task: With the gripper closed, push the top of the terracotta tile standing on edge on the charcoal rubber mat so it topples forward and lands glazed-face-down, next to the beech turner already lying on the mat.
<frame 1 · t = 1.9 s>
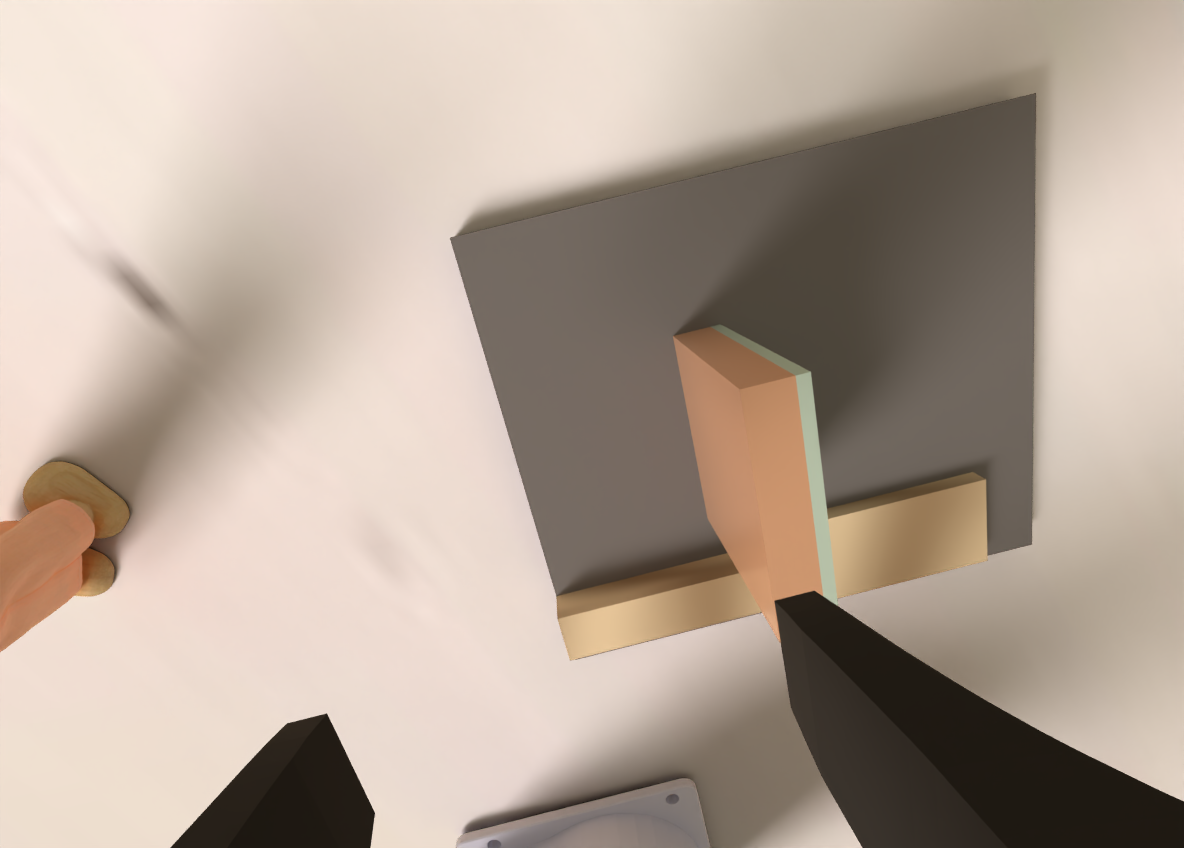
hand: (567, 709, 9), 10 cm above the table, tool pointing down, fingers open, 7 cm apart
turner: (798, 556, 20), point 1 cm above the table, touching mat
grandmother figurine: (73, 543, 19), on the table
tile: (713, 426, 18), point 1 cm above the table, touching mat
mat: (768, 403, 19), on the table
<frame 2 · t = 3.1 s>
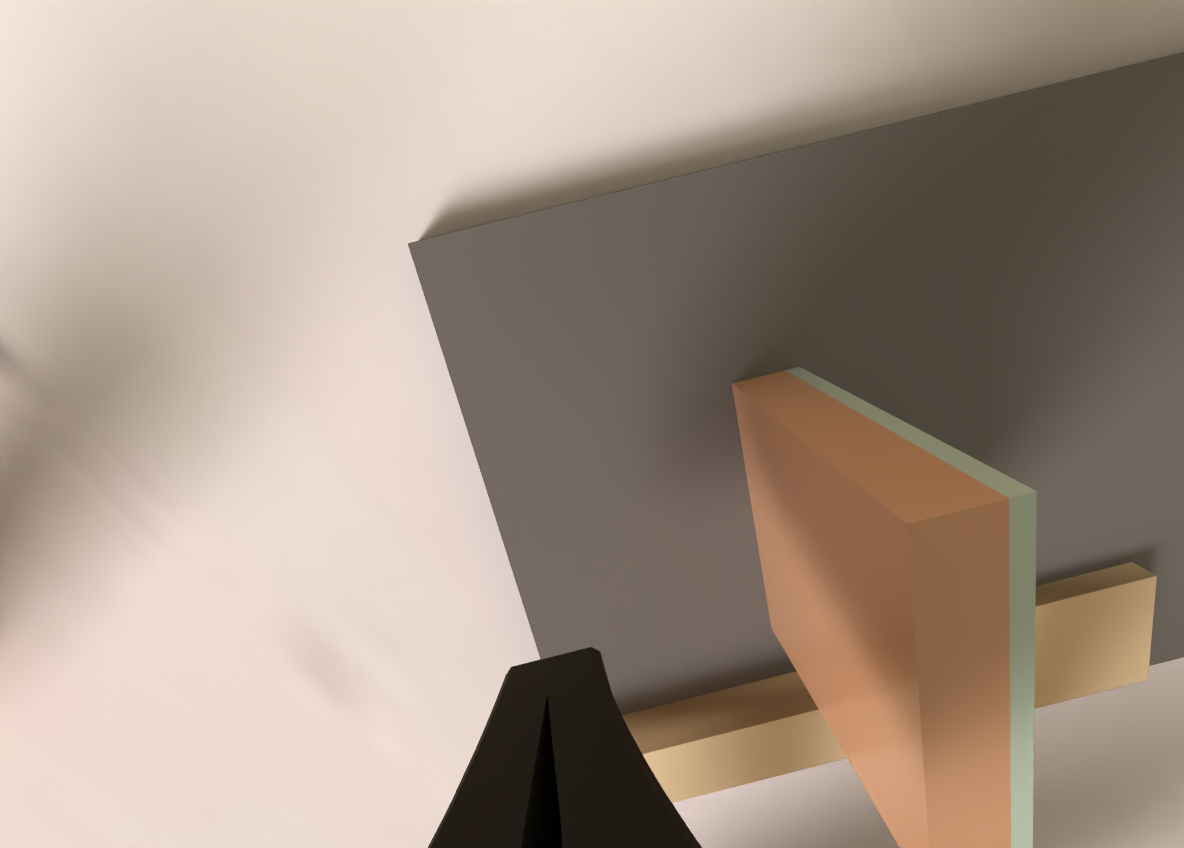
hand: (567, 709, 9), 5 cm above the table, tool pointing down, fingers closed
turner: (890, 674, 15), point 1 cm above the table, touching mat
tile: (784, 507, 13), point 1 cm above the table, touching mat
mat: (855, 470, 14), on the table
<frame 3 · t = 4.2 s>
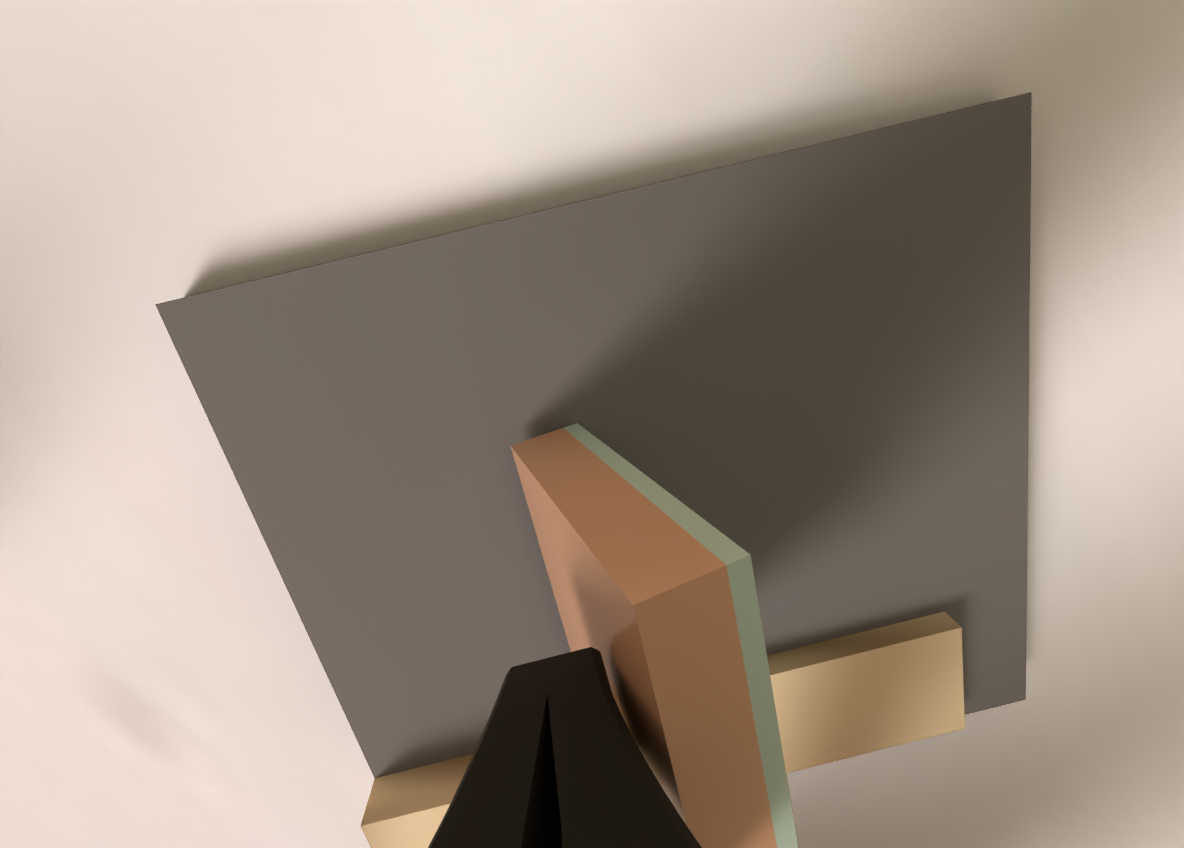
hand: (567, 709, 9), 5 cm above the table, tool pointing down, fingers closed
turner: (707, 722, 15), point 1 cm above the table, touching mat
tile: (579, 563, 13), point 1 cm above the table, tilted 15°, touching mat
mat: (661, 520, 14), on the table
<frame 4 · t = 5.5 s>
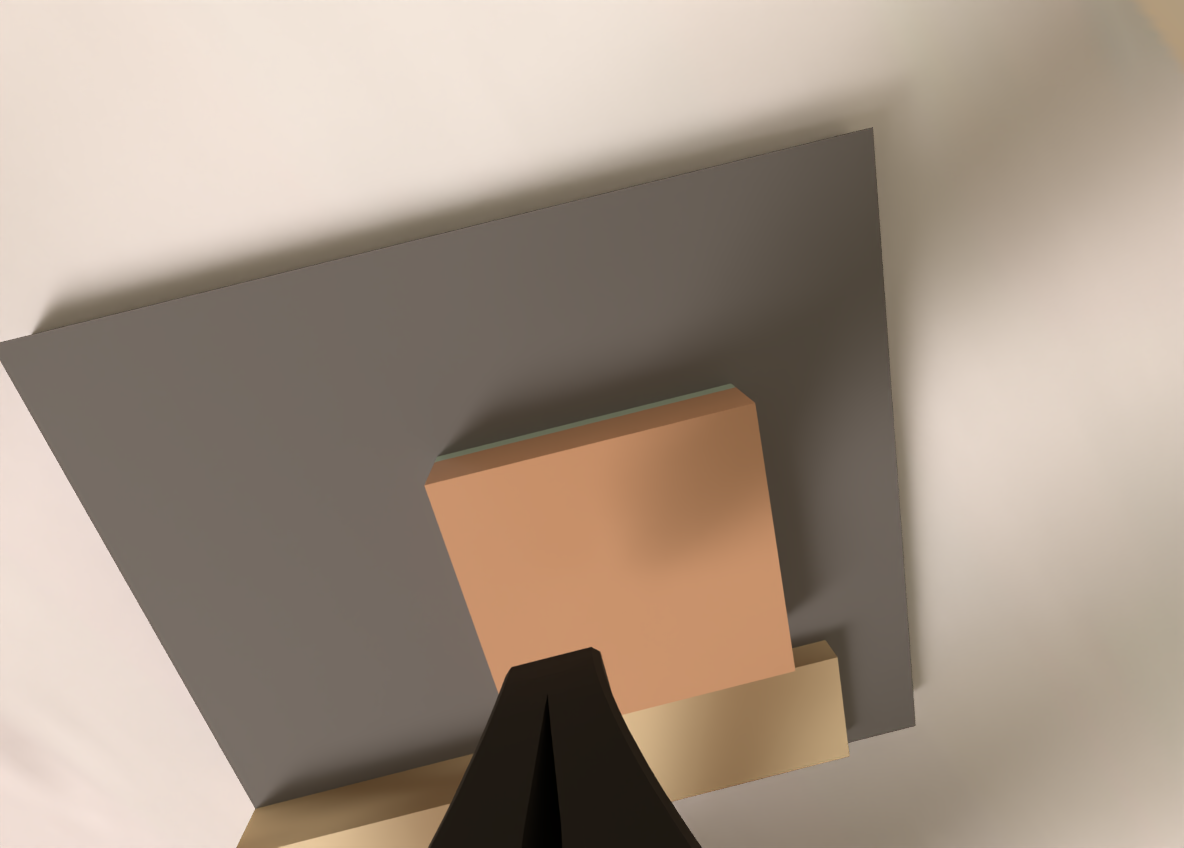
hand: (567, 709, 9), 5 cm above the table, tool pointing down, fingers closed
turner: (591, 750, 14), point 1 cm above the table, touching mat
tile: (477, 602, 12), point 1 cm above the table, tilted 90°, touching mat
mat: (536, 550, 14), on the table
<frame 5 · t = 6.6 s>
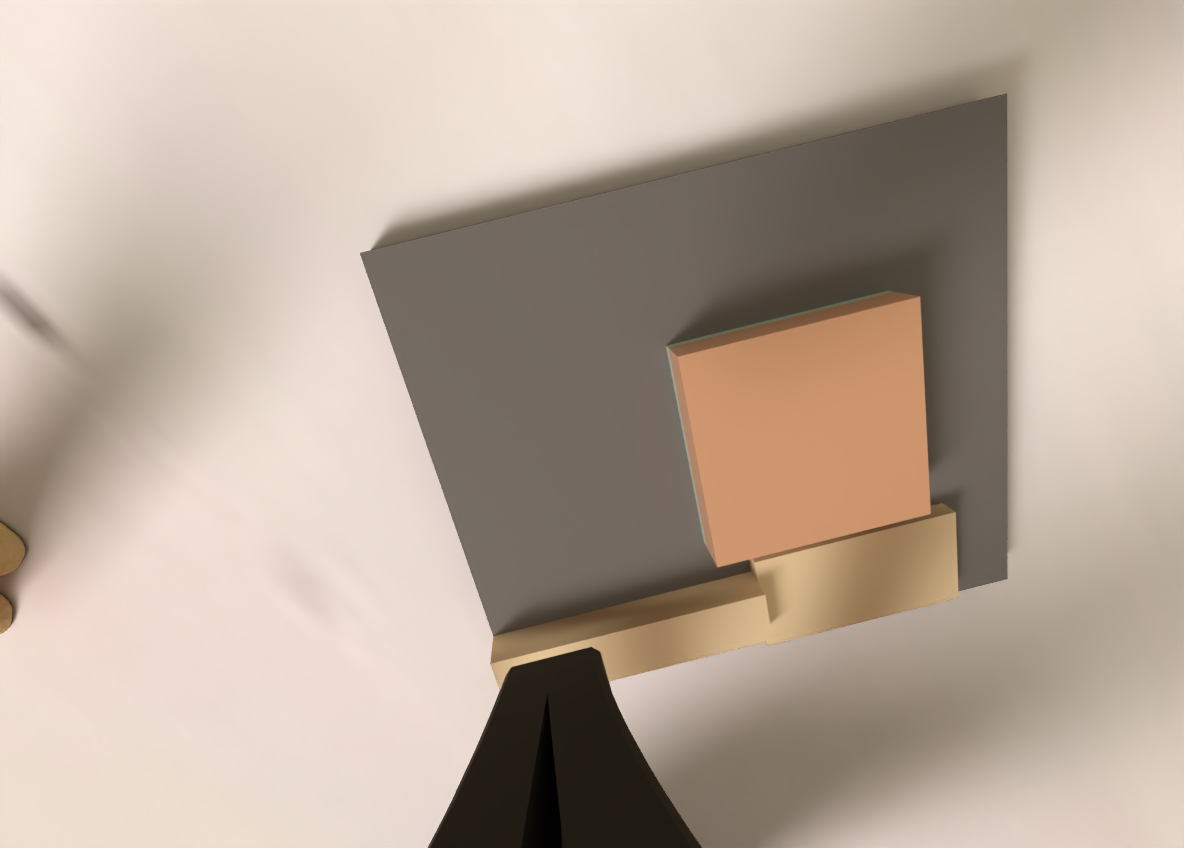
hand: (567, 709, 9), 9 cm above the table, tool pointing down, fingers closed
turner: (754, 593, 18), point 1 cm above the table, touching mat
tile: (692, 458, 16), point 1 cm above the table, tilted 90°, touching mat
mat: (720, 429, 17), on the table
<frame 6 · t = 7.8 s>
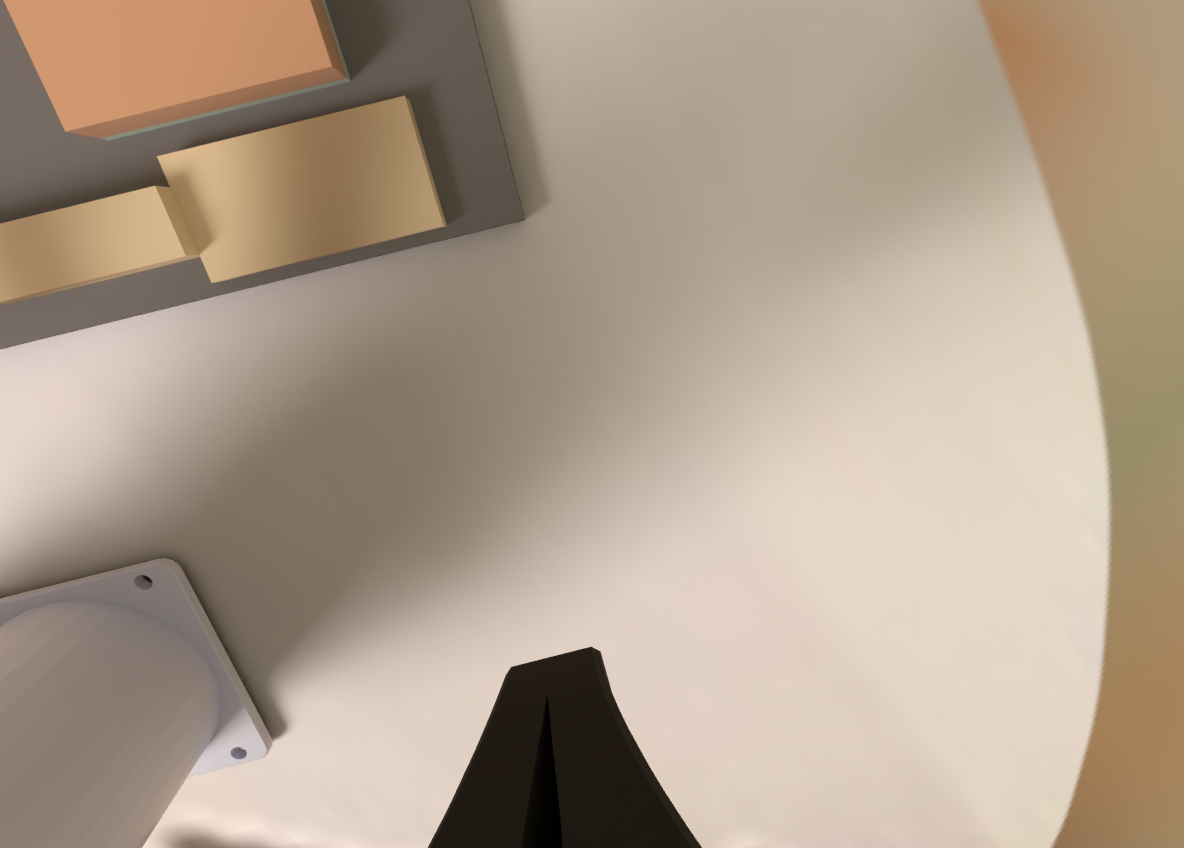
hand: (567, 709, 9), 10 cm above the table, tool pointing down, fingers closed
turner: (198, 222, 15), point 1 cm above the table, touching mat
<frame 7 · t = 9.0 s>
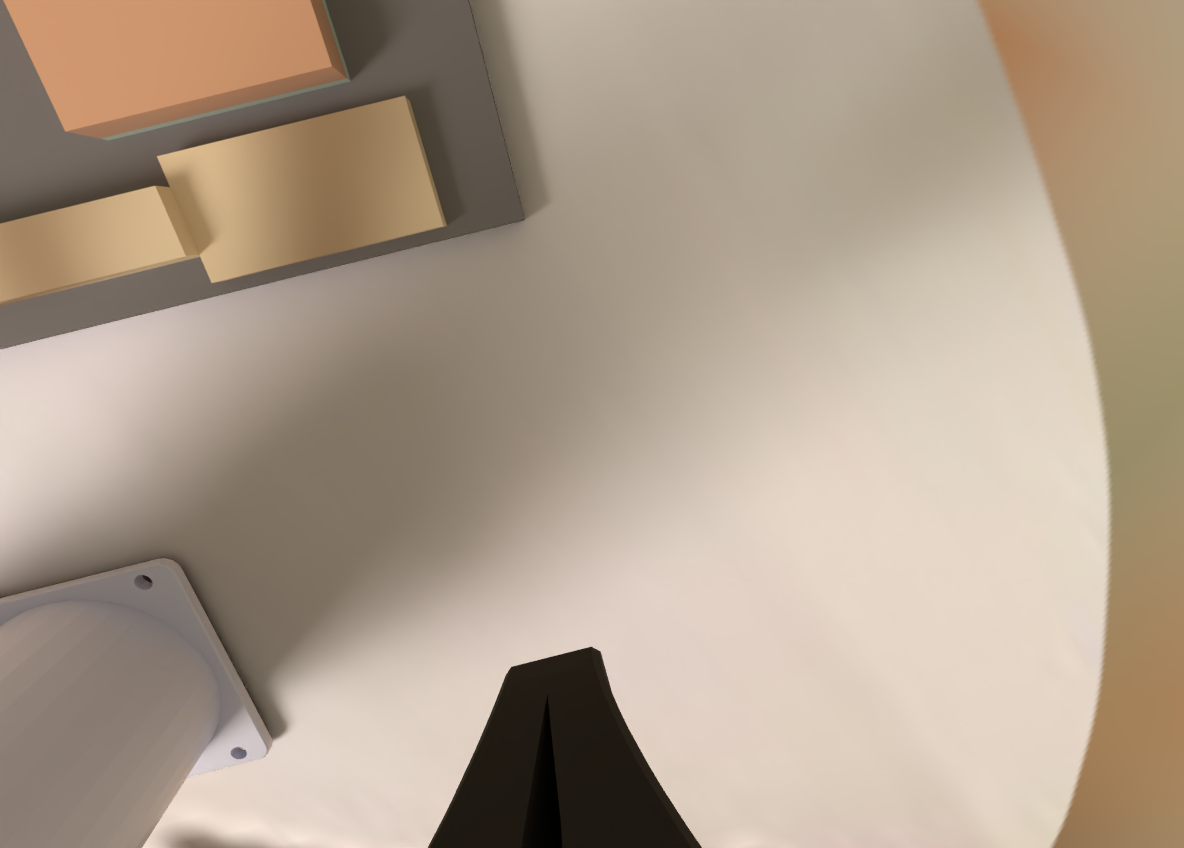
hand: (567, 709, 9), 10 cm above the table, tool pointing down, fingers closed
turner: (198, 222, 15), point 1 cm above the table, touching mat
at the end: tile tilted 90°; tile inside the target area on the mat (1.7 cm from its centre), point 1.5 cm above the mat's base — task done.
